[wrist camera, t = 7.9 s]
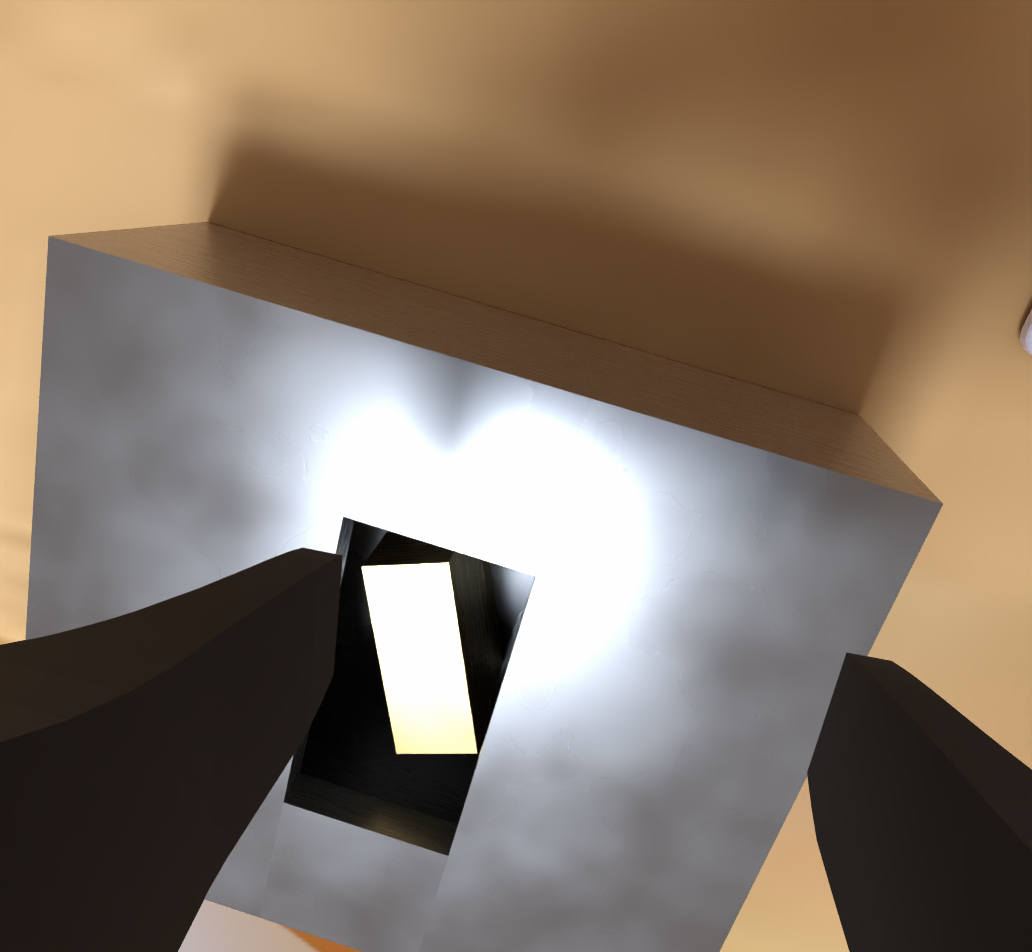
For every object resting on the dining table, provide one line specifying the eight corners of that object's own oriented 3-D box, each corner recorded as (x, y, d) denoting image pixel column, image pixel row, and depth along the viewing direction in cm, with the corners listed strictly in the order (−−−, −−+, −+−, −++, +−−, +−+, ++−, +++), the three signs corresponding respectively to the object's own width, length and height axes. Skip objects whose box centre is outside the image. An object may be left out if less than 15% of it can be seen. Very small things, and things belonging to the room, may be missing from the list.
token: (481, 497, 22) (448, 562, 18) (502, 662, 23) (477, 753, 20) (408, 502, 22) (361, 566, 18) (435, 664, 24) (396, 753, 20)
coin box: (858, 415, 20) (943, 503, 15) (662, 862, 26) (668, 1053, 20) (206, 221, 21) (48, 236, 15) (147, 697, 26) (14, 835, 21)
